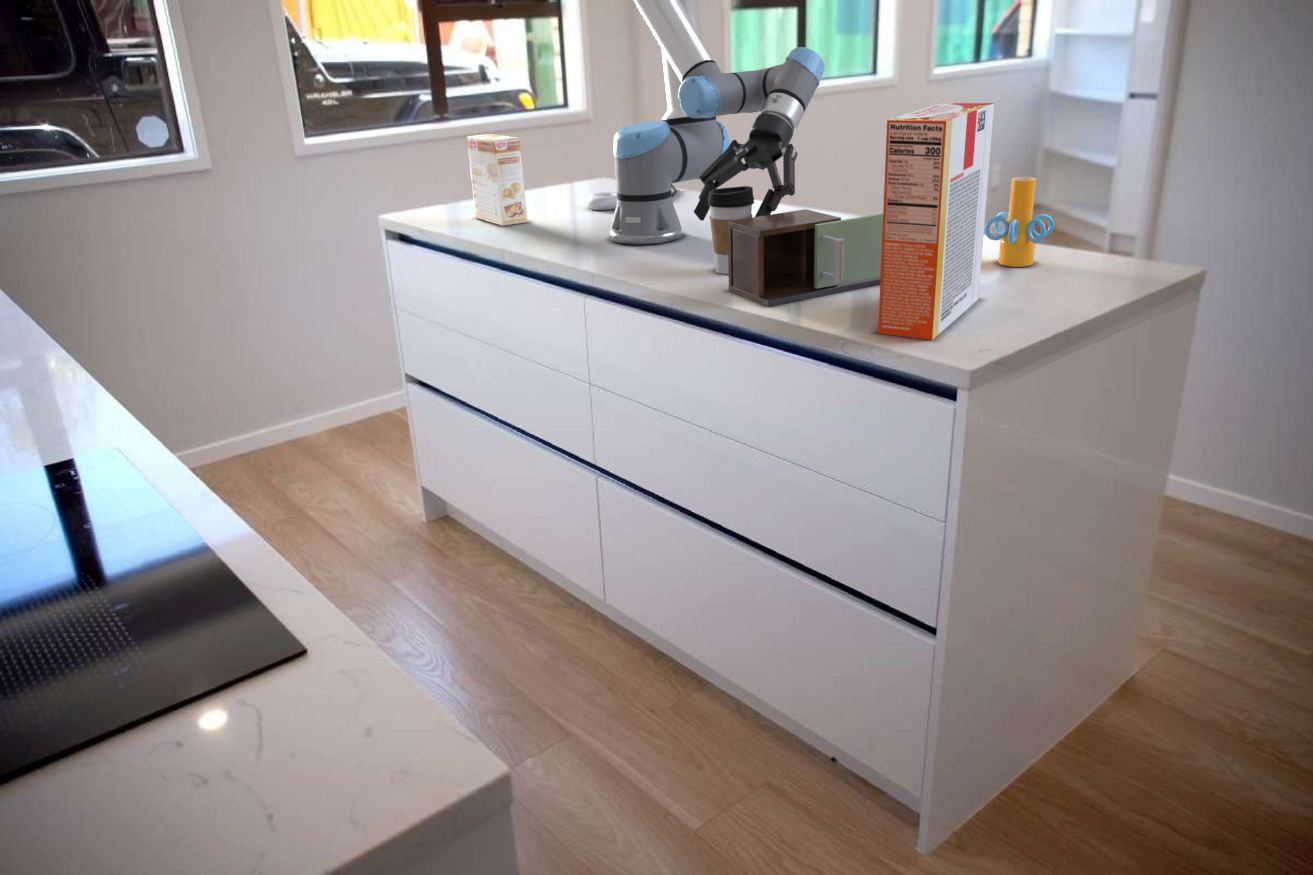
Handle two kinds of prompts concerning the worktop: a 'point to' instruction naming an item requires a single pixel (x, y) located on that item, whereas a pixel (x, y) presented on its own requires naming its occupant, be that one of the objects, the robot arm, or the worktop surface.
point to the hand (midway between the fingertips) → (727, 220)
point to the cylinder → (1019, 225)
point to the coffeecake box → (497, 178)
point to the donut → (602, 201)
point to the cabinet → (779, 258)
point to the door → (848, 250)
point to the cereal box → (933, 216)
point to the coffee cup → (727, 218)
